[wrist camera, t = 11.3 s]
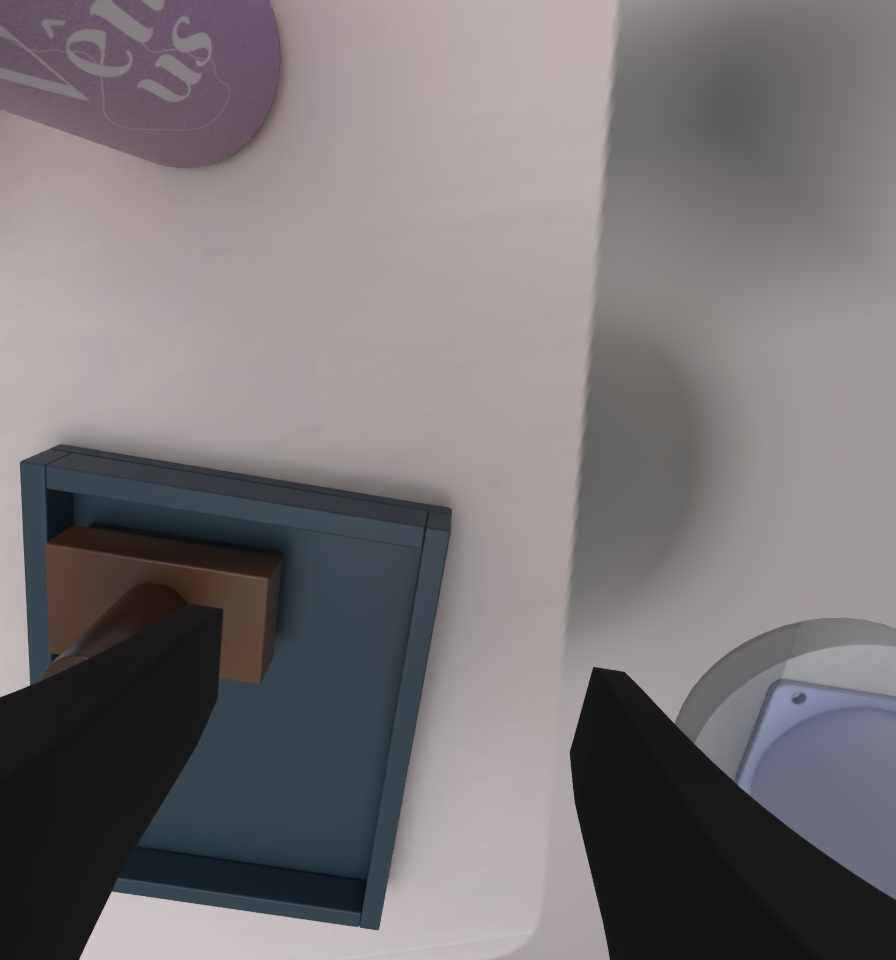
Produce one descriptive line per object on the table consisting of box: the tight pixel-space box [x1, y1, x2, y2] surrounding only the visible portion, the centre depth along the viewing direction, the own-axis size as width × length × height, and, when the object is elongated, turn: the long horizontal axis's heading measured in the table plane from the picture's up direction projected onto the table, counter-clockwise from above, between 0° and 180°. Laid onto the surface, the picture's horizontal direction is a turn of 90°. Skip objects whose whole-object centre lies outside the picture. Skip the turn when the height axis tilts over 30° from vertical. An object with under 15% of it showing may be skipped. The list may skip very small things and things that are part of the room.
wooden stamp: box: [41, 523, 282, 684], centre depth 20 cm, size 7×4×6 cm, turn 81°
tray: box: [20, 445, 452, 930], centre depth 24 cm, size 14×18×2 cm
